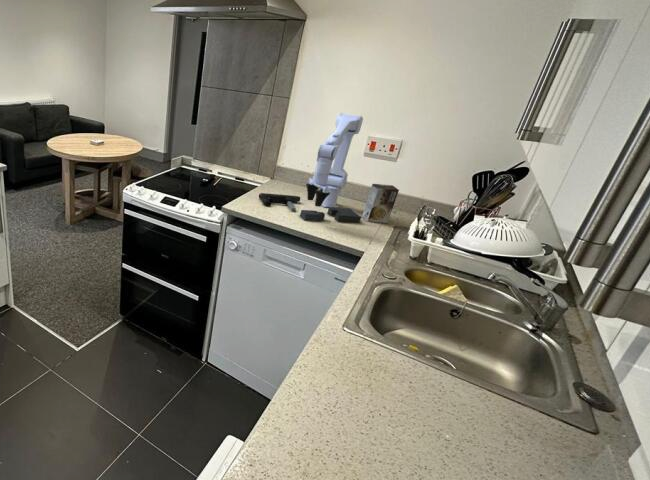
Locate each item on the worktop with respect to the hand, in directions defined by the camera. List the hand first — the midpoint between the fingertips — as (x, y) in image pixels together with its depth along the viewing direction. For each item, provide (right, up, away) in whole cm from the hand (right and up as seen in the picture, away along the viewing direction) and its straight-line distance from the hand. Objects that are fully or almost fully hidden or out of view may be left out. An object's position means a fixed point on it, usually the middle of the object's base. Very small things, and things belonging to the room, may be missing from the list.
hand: (313, 203), depth 171 cm
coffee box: (+31, -7, +8) cm, 33 cm away
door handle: (-8, 0, +17) cm, 19 cm away
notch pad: (+16, -6, +7) cm, 19 cm away
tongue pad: (+1, -7, +3) cm, 7 cm away
